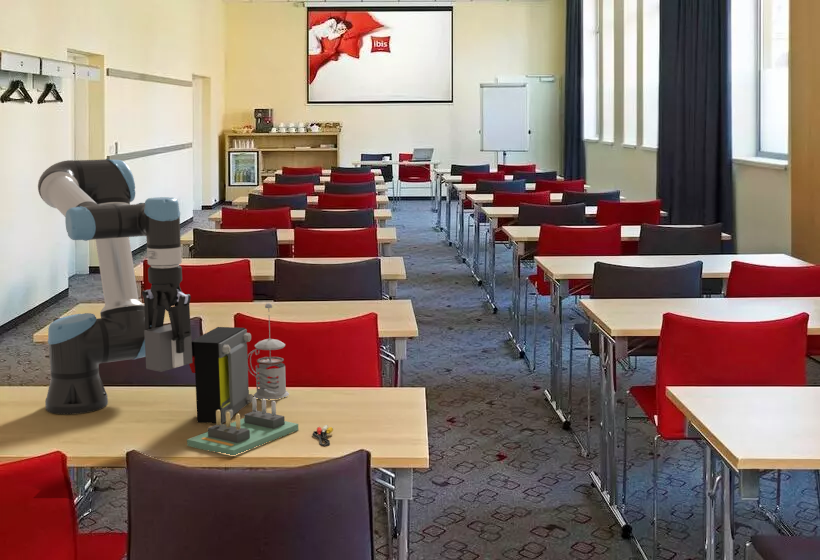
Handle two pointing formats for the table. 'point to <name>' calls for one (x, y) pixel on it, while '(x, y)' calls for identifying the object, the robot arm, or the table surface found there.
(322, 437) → the composite cable
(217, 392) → the electrical component
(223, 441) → the header board
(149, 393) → the table surface
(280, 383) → the french press
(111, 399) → the table surface
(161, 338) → the block
